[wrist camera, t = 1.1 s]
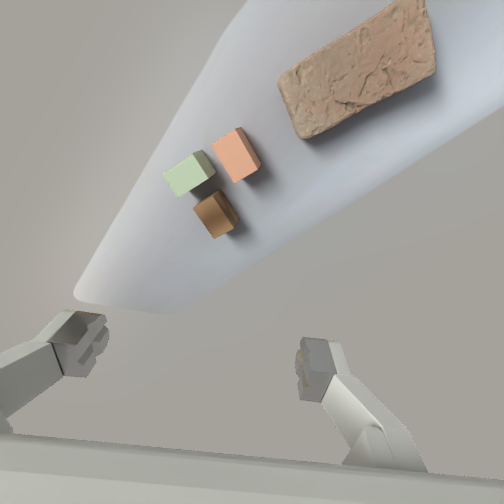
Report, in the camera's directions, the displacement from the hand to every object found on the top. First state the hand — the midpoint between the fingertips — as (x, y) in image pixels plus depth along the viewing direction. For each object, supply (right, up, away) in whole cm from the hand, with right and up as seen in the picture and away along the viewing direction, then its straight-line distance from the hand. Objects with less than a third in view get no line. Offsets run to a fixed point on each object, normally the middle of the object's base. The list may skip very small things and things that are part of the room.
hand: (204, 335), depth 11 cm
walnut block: (-4, +11, +34) cm, 36 cm away
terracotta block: (0, +19, +29) cm, 34 cm away
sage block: (-7, +17, +31) cm, 36 cm away
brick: (+14, +26, +23) cm, 38 cm away
